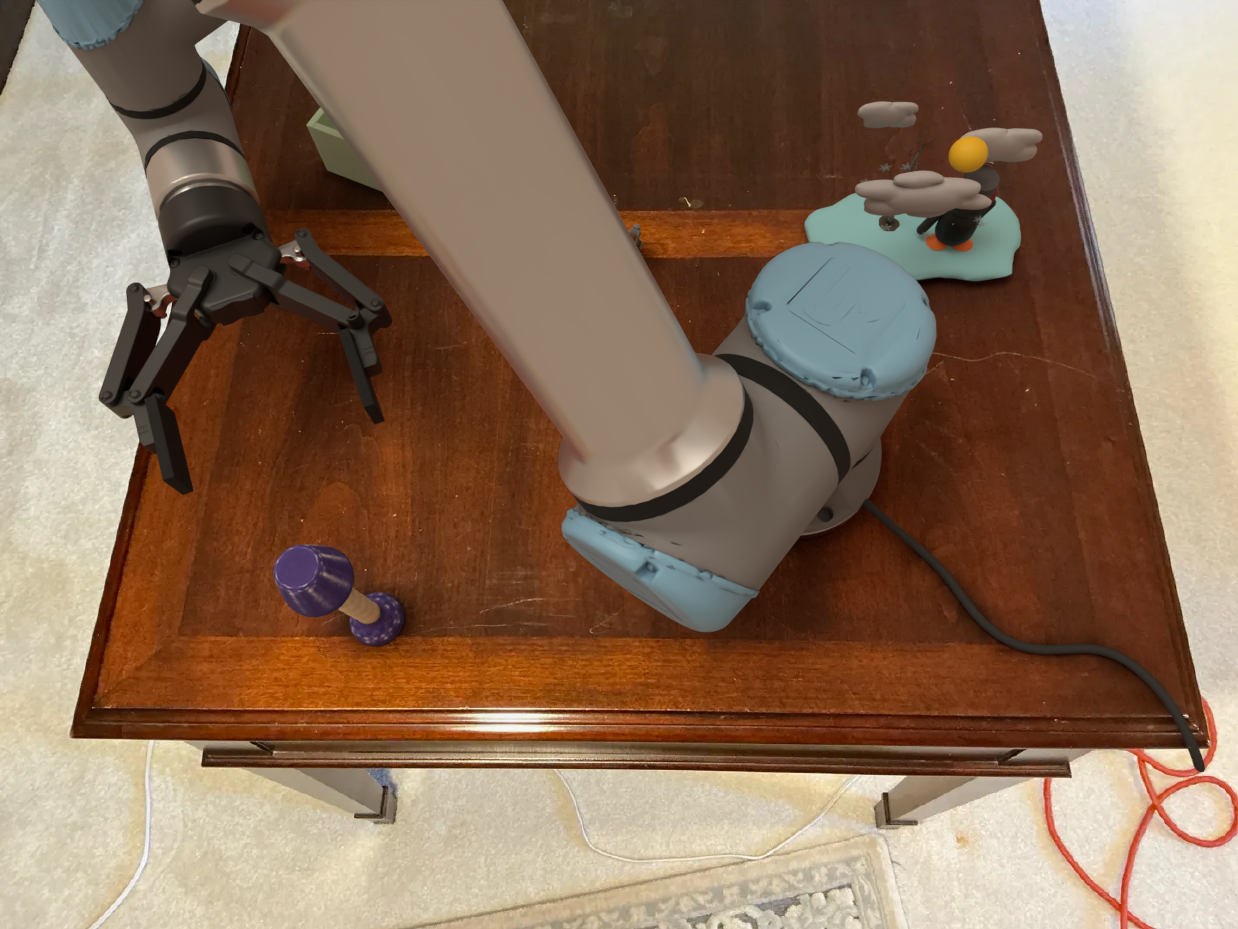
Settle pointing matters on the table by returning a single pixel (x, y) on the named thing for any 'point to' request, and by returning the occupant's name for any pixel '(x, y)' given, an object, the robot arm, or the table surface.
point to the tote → (337, 151)
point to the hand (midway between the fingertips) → (278, 450)
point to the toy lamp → (335, 592)
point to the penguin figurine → (934, 206)
